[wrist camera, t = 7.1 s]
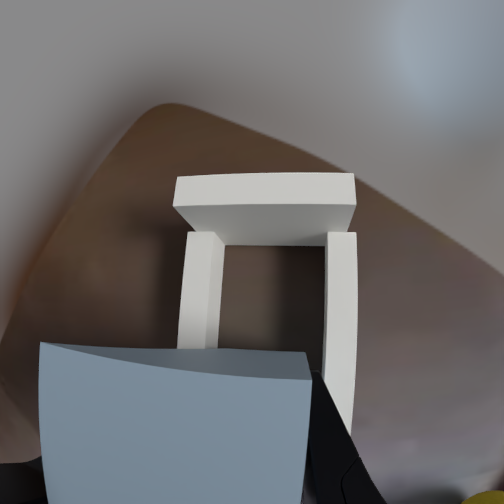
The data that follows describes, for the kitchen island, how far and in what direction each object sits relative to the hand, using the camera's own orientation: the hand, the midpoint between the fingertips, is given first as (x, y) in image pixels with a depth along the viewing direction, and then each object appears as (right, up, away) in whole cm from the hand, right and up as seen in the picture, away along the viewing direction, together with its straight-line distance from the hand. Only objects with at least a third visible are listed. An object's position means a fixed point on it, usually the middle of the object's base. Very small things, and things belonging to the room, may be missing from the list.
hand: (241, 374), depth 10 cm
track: (+1, -3, +8) cm, 8 cm away
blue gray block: (+1, -3, +6) cm, 7 cm away
